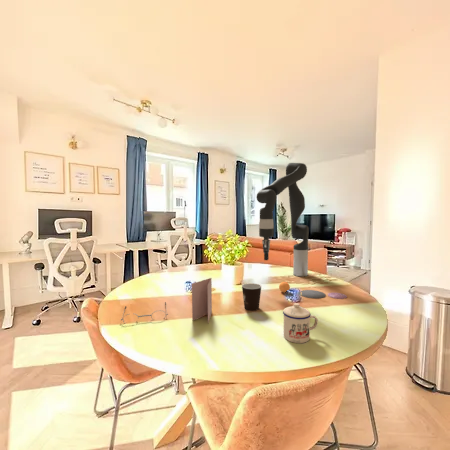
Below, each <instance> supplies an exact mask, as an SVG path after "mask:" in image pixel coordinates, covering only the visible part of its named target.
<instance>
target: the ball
mask: <svg viewBox="0 0 450 450" xmlns="http://www.w3.org/2000/svg"><path fill="white" fill-rule="evenodd" d="M278 285H279V286H278V289H279V291H280V292H281V293H283V294H284V293H285V292H286V291H287V290H289V289H290V290H291V285H290V284H289V283H288V282H286V281H281V282H280V283H279V284H278ZM290 290H289V291H290ZM286 293H287V292H286ZM286 293H285V294H286Z"/></svg>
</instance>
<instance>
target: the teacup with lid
mask: <svg viewBox="0 0 450 450" xmlns="http://www.w3.org/2000/svg"><path fill="white" fill-rule="evenodd" d="M282 314H283V337H284V339H285V340H286V341H289V342H292V343H294V344H304V343H306V342H309V340H310V338H311V334H310V333H311V331H313V330H315V329H316V328H317V327H318V324H319V320H318V318H317V317H316V316H315V315H313V314H311V312H310V310H308V309H307V308H305V307H302V306H300V303H298V302H295V303H293V305H291V306H287V307H285V308H284V309H283V311H282ZM311 319H314V324H313V325H312V326H311V325H310V324H311V321H310V320H311Z"/></svg>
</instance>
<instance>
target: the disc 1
mask: <svg viewBox="0 0 450 450" xmlns="http://www.w3.org/2000/svg"><path fill="white" fill-rule="evenodd" d="M300 291H301V292H302V296H301V297H304V298H309V299H324V298H326V297H327V296H326V295H327V294H326V293H324V292H323V291H320V290H314V289H305V290H303V289H302V290H300Z"/></svg>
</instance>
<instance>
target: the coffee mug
mask: <svg viewBox="0 0 450 450" xmlns="http://www.w3.org/2000/svg"><path fill="white" fill-rule="evenodd" d="M241 289H242V299H243V306H244V310H245V311H249V312H254V311H258V310H259V309H260V302H261V293H262V285H261V284H259V283H253V282H251V283H249V282H248V283H244V284H241Z"/></svg>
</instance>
